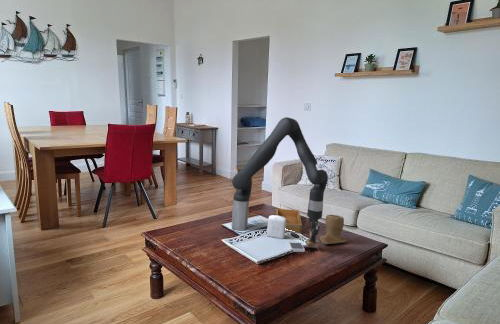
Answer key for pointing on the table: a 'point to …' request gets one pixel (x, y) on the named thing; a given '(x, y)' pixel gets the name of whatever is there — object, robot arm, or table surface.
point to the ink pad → (296, 247)
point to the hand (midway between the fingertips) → (312, 239)
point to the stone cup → (333, 230)
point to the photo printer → (276, 226)
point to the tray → (291, 219)
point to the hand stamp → (310, 243)
